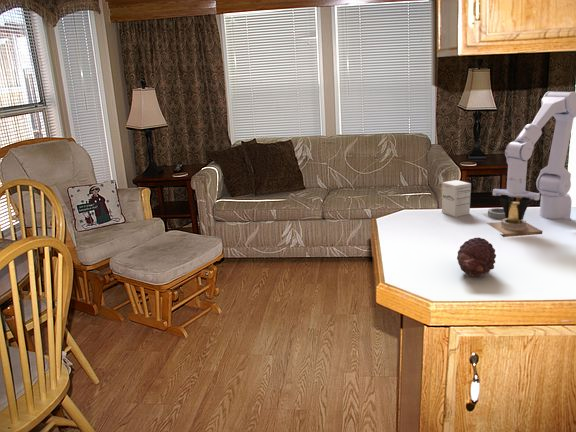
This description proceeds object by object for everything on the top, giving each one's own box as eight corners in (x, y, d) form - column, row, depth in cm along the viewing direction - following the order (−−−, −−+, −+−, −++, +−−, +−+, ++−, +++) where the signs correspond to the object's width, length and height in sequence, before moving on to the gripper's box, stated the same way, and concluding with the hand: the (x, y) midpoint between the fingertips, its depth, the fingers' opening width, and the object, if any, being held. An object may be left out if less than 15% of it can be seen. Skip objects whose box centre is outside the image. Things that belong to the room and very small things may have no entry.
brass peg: (509, 223, 188) (510, 201, 185) (521, 225, 185) (523, 202, 183) (505, 226, 185) (507, 203, 182) (518, 228, 182) (519, 205, 180)
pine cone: (458, 260, 160) (459, 227, 157) (495, 263, 156) (497, 229, 154) (454, 283, 144) (455, 247, 141) (494, 287, 140) (496, 250, 138)
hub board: (522, 223, 192) (522, 214, 191) (542, 234, 179) (542, 225, 179) (486, 225, 191) (486, 217, 190) (503, 237, 178) (504, 228, 178)
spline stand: (505, 214, 203) (505, 206, 202) (517, 221, 194) (517, 213, 194) (481, 216, 202) (482, 208, 201) (492, 223, 194) (493, 214, 193)
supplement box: (440, 215, 207) (441, 182, 203) (456, 212, 210) (457, 179, 206) (454, 219, 200) (455, 185, 197) (470, 216, 203) (471, 182, 200)
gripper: (490, 178, 182) (488, 218, 186) (536, 183, 173) (533, 224, 177) (497, 174, 187) (495, 213, 191) (542, 178, 178) (539, 219, 182)
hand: (514, 218), depth 184 cm, fingers closed on brass peg, 4 cm apart
